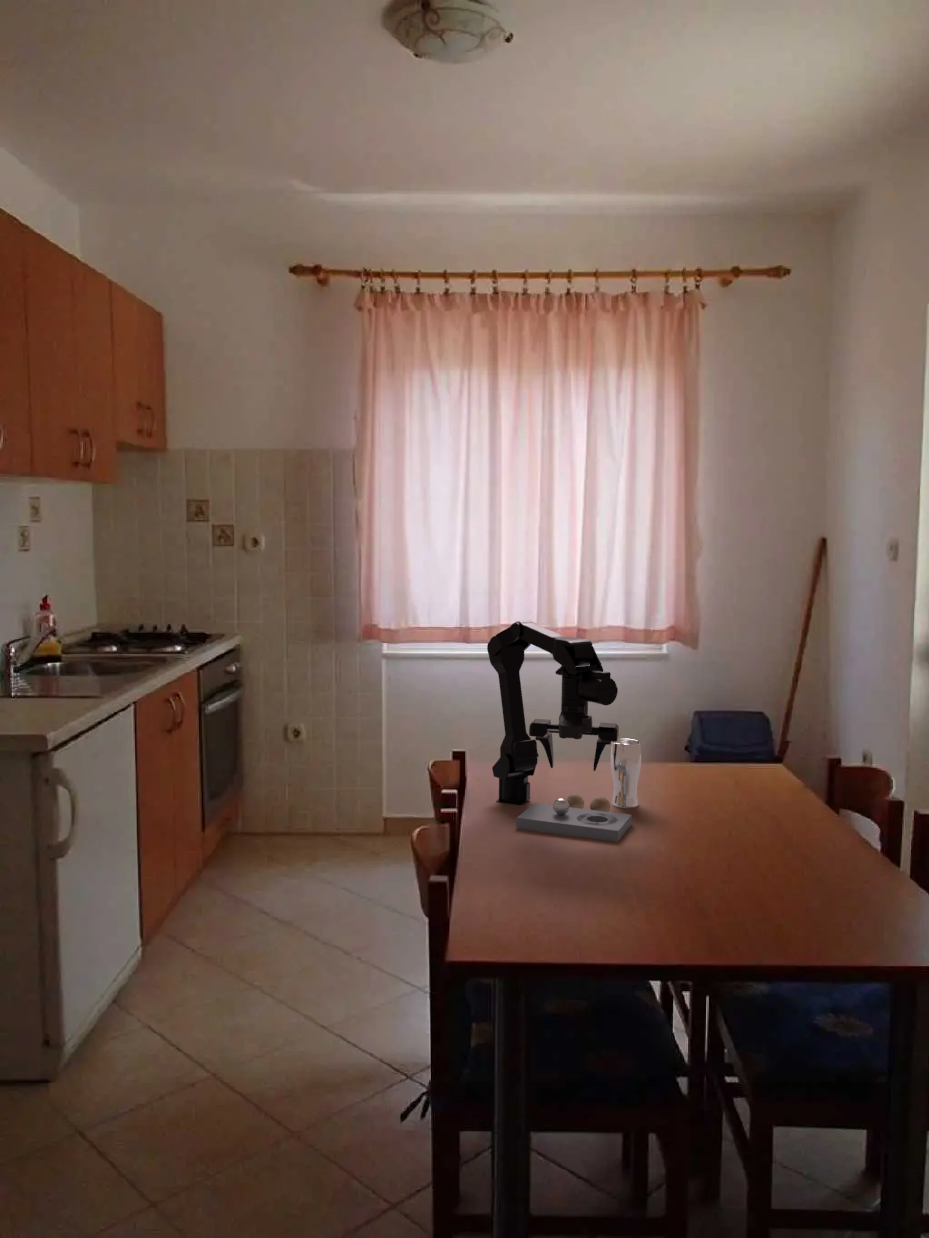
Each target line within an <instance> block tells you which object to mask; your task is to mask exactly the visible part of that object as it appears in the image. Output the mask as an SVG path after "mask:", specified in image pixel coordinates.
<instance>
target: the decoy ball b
mask: <svg viewBox="0 0 929 1238" xmlns="http://www.w3.org/2000/svg"><path fill="white" fill-rule="evenodd" d="M589 810H597V811H605V812H611V803H610V801H609V799H607V798H606V797H604V796H600V795H599V796H595V797H594V798H592V800H591V801H590V804H589Z"/></svg>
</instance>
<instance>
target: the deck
mask: <svg viewBox="0 0 929 1238" xmlns="http://www.w3.org/2000/svg"><path fill="white" fill-rule="evenodd" d="M632 817H633V816H632V814H629V813H622V812H621V813H620V812H614V811H613V812H611V811H609V812H605V811H597V810H591V809H590V808H589V809H588V808H583V809H581V808H573V807H569V810H568V812H567V813H566V814H564V815H559V814H557V813H556V812H555V811H554V809H553V804H546V803H541V802H539V803H538V802H534V803H533V804H531V805H530V806H529V807H528V808H527V809H525V810H524V811H523V812H522V813H520V814H519V815H518V816H516V825H515V827H516V829H518V830H526V831H533V832H540V833H548V834H549V833H550V834H554V835H555V834H557V835H563V836H564V835H565V836H571V837H578V838H585V839H594V840H600V839H601V840H600V841H609V842H617V843H618V842H620V840H621V839H622V838H623V836H624V835H625V834H626V833H627V831H629V829H630V828H631V827H632V820H633V819H632Z"/></svg>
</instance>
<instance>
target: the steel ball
mask: <svg viewBox="0 0 929 1238" xmlns="http://www.w3.org/2000/svg"><path fill="white" fill-rule="evenodd" d="M552 805H553V809H554V811H555V812H556V813H557V814H559V815H564V814H566V813H567V812H568V810H569V803H568V801H567V800H565V798H563V797H562V798H561V797H560V798H557V799H556V800H554V801H553V804H552Z"/></svg>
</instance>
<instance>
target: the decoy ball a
mask: <svg viewBox="0 0 929 1238" xmlns="http://www.w3.org/2000/svg"><path fill="white" fill-rule="evenodd" d="M564 799H565V800H567V801H568V803H569V807H573V808H581V809H584V807H585V800H584V798H583V797H582V796H581V795H580V794H578V793H577V792H576V793H575V792H574V793H569V794H567V796H565V798H564Z"/></svg>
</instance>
